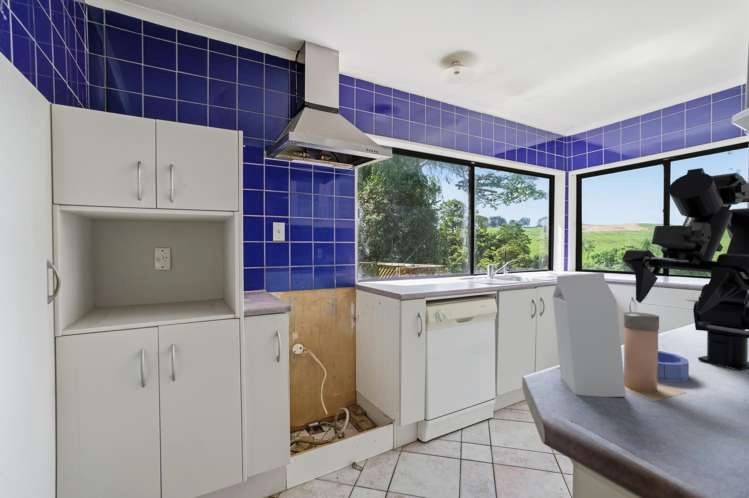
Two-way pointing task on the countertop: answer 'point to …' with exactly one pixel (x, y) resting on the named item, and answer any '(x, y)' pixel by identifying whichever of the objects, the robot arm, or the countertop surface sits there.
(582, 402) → the countertop surface
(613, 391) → the milk carton
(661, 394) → the cork mat
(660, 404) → the countertop surface
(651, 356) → the spice jar
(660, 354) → the bowl
